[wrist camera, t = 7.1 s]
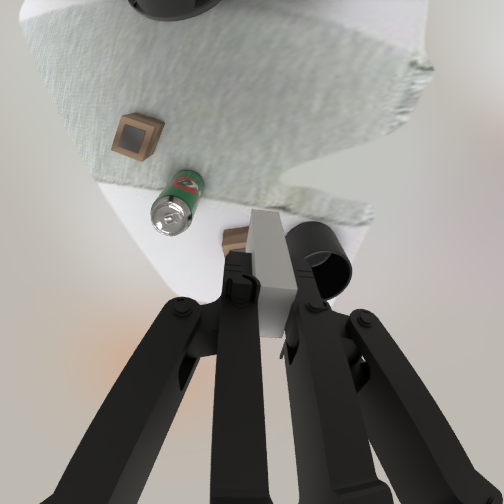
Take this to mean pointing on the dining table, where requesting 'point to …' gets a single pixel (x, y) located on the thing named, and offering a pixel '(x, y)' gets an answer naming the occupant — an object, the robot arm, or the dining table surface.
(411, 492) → the robot arm
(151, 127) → the walnut block
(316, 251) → the mug
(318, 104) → the dining table surface
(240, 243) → the walnut block
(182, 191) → the soda can
